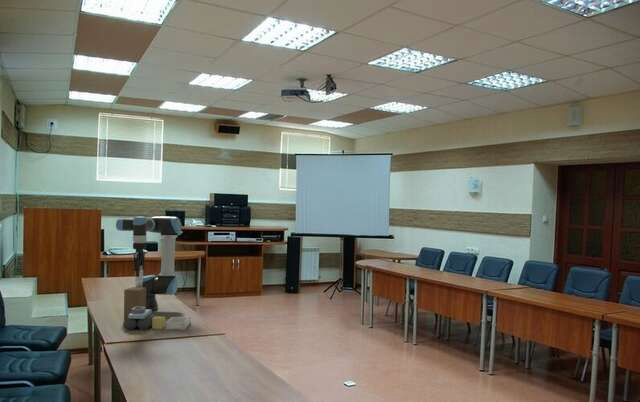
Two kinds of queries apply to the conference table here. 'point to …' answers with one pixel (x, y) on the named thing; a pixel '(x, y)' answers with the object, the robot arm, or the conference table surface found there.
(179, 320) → the tray
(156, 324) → the yellow cube
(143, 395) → the conference table surface
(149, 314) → the grey plate on cylinders
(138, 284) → the pin
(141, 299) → the block
